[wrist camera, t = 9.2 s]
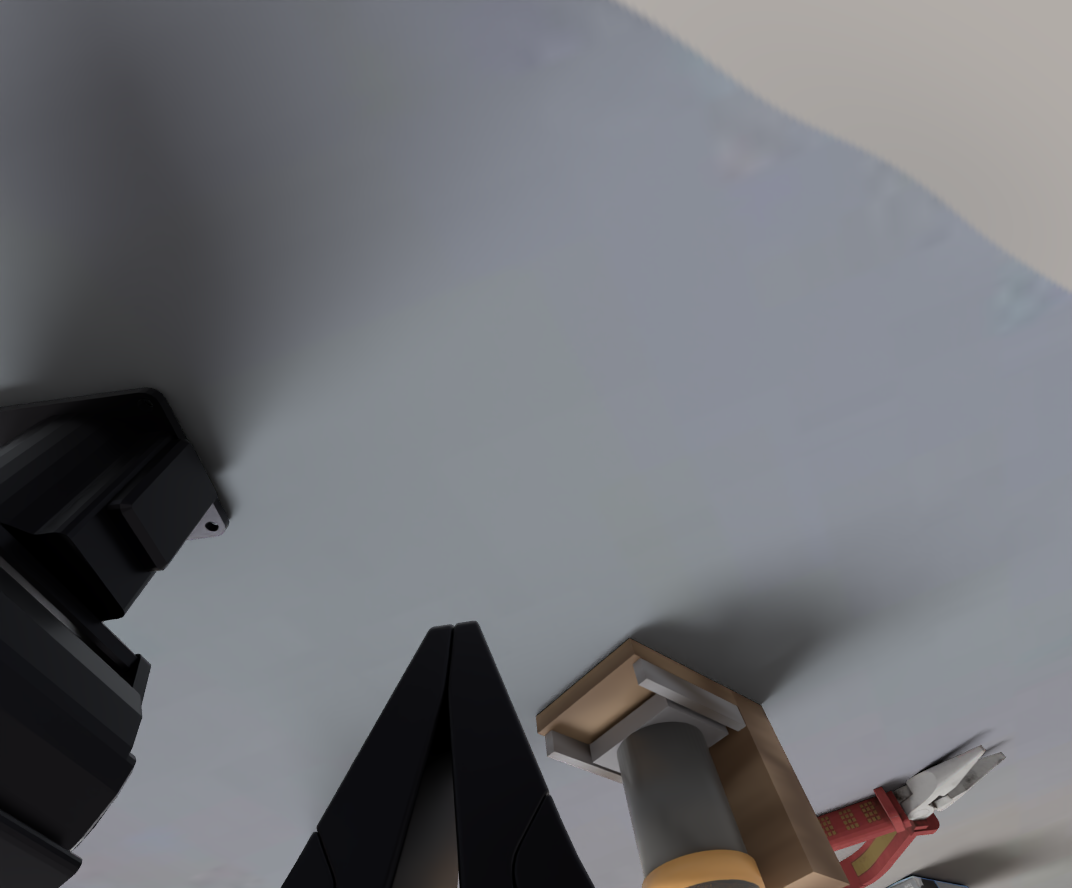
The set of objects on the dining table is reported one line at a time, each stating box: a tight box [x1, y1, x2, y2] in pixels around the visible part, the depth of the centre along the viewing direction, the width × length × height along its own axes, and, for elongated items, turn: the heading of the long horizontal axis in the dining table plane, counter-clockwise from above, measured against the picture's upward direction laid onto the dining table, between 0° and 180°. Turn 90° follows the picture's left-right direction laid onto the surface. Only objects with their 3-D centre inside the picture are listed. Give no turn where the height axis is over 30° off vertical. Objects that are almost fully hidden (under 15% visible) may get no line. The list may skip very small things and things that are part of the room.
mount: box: [536, 638, 850, 888], centre depth 28 cm, size 12×8×9 cm
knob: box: [590, 694, 765, 888], centre depth 27 cm, size 5×6×8 cm
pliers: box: [817, 745, 1006, 888], centre depth 41 cm, size 11×20×3 cm, turn 148°
